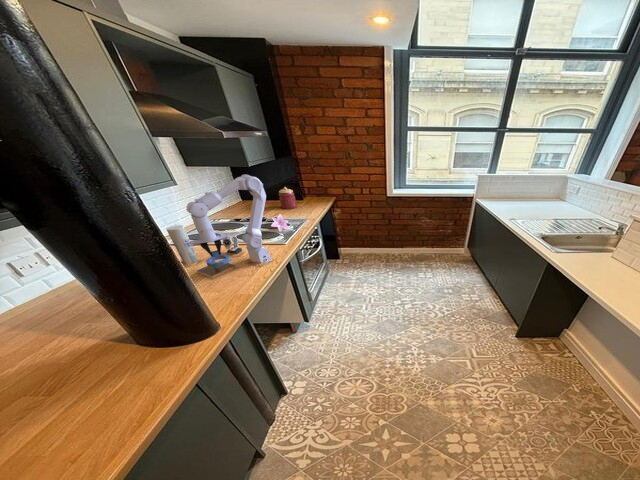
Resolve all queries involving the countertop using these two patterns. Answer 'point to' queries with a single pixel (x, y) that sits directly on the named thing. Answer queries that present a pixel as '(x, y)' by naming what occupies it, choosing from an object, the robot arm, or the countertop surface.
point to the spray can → (182, 244)
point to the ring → (216, 257)
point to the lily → (280, 223)
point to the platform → (215, 269)
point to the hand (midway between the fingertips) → (216, 256)
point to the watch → (228, 244)
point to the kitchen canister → (287, 198)
